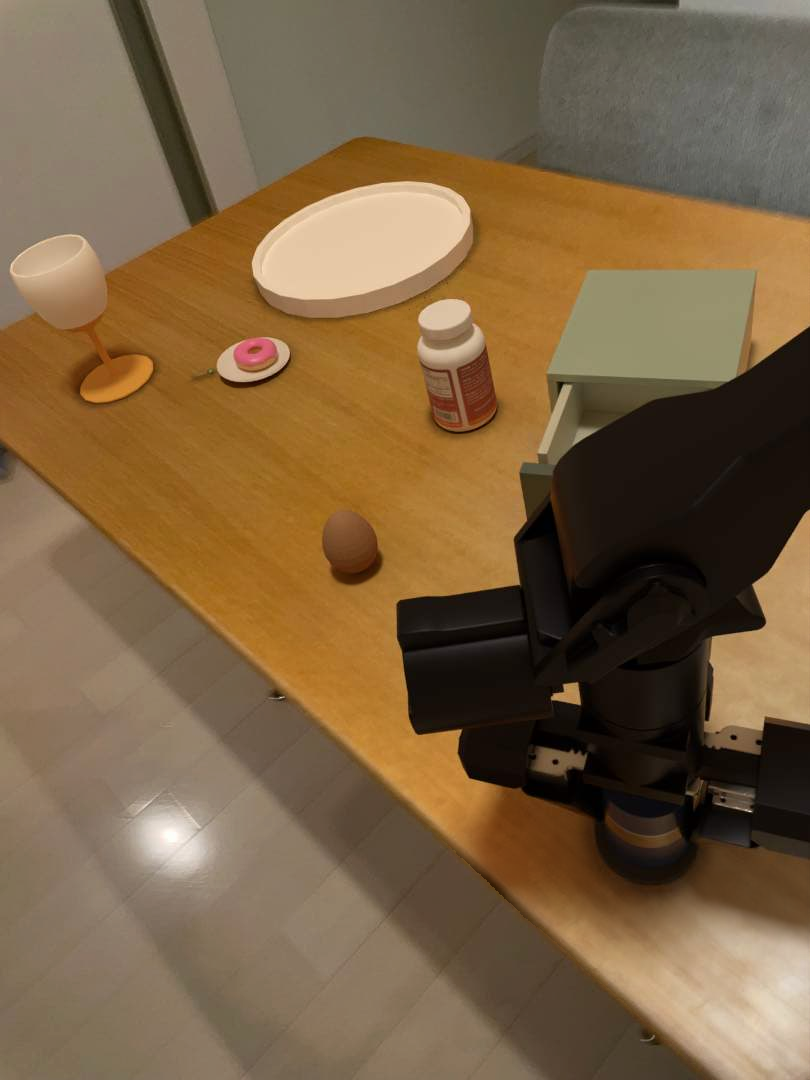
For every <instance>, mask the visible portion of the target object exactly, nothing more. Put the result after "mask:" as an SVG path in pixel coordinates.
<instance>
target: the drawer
mask: <svg viewBox="0 0 810 1080" xmlns="http://www.w3.org/2000/svg"><path fill="white" fill-rule="evenodd" d="M707 390H712V389H710V388H688V387H667V386H646V385H624V384H603V383H582V382H564V384H563V387H562V389H561V392H560V395H559V397H558V400H557V403H556V405H555V408H554V410H553V413H552V415H551V416H550V418H549V421H548V424H547V426H546V429H545V431H544V434H543V437H542V439H541V441H540V445H539V448H538V450H537V451H536V454H537V460H538V462H527V461H522V464H521V467H520V469H519V471H518V474H519V480H520V481H519V482H520V486H521V492H522V498H523V503H524V511H525V516H526V521H527V520H528V519H529V517H530V516H531V515H532V513H533V512H534V511H535V510H536V508H537V507H538V506H539V504H540V503H541V502H542V501H543V499H544V498H545V497H546V496H547V494H548V493H549V492H550V490H551V485H552V479H553V474H552V473H553V469H554V468H555V466H556V464H557V463H558V461H559V459H560V458H561V457H562V456H563V455H564V454H565V453H566V452H567V451H568V450H569V449H570V448H571V447H572V446H573V445H574V444H576V443H577V442H579V441H581V440H582V439H584V438H585V437H587V436H589V435H591V434H592V433H594V432H596V431H598V430H599V429H601V428H603V427H605V426H607V425H608V424H610V423H612V422H614V421H616V420H617V419H619V418H621V417H623V416H624V415H626V414H628V413H630V412H632V411H633V410H635V409H637V408H639V407H641V406H642V405H644V404H646V403H648V402H650V401H652V400H655V399H658V398H663V397H669V396H675V395H682V394H688V393H694V392H700V391H707Z"/></svg>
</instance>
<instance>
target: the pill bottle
mask: <svg viewBox="0 0 810 1080" xmlns="http://www.w3.org/2000/svg"><path fill="white" fill-rule="evenodd" d="M417 321H418V326H419V330H420V335H421V336H420V337H419V339H418V342H417V345H416V353H417V358H418V360H419V361H418V362H419V365H420V369H421V373H422V376H423V380H424V385H425V388H426V392H427V396H428V400H429V404H430V408H431V413H432V415H433V418H434V420H435V422H436V423H437V425H439V426H440V427H441V428H443V429H445V430H447V431H450V432H457V433H458V432H466V431H471V430H474V429H476V428H479V427H481V426H483V425H484V424H486V423H488V422H489V421H490V420H491V419H492V418H493V416H494V415H495V413H496V411H497V408H498V407H497V406H498V402H497V395H496V389H495V385H494V379H493V373H492V369H491V363H490V358H489V357H490V356H489V351H488V347H487V343H486V338H485V334H484V333H483V331H482V329H481V328H480V327H479V326H478V324H477V325H476V323H474V316H473V313H472V308H471V306H470V304H468V303H467V302H466V301H464V300H461V299H456V298H448V299H442V300H437V301H435V302H433V303H431V304H429V305H427V306H426V307H425V308H423V310H421V311H420V313H419V315H418V318H417Z"/></svg>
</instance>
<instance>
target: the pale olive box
mask: <svg viewBox="0 0 810 1080" xmlns="http://www.w3.org/2000/svg"><path fill="white" fill-rule="evenodd" d="M757 275H758V269H756V268H751V269H750V268H749V269H748V268H747V269H742V268H741V269H740V268H737V269H736V268H735V269H732V268H729V269H727V268H726V269H724V268H723V269H720V268H719V269H718V268H717V269H716V268H715V269H712V268H711V269H588V270H587V272H586V274H585V277H584V280H583V282H582V284H581V287H580V290H579V292H578V295H577V296H576V298H575V302H574V304H573V307H572V309H571V312H570V315H569V317H568V318H567V321H566V323H565V327H564V329H563V331H562V333H561V337H560V339H559V340H558V344H557V345H556V348H555V351H554V353H553V355H552V359H551V361H550V363H549V366H548V368H547V371H546V373H545V374H546V382H547V389H548V398H549V407H550V413H551V416H552V413H553V410H554V408H555V405H556V403H557V400H558V397H559V395H560V392H561V389H562V387H563V384H564V382H582V383H603V384H624V385H646V386H667V387H688V388H710V389H715V388H717V387H719V386H721V385H723V384H725V383H726V382H728V381H730V380H732V379H734V378H735V377H737V376H739V375H741V374H743V373H745V372H746V371H747V369H748V364H749V358H750V352H751V347H752V346H751V345H752V336H753V335H752V333H753V325H754V324H753V322H754V311H755V310H754V309H755V297H756V287H757V286H756V284H757Z"/></svg>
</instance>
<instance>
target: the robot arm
mask: <svg viewBox="0 0 810 1080" xmlns="http://www.w3.org/2000/svg"><path fill="white" fill-rule="evenodd" d="M552 474H553V479H552V485H551V490H550V492H549V493H548V494H547V496H546V497H545V498H544V499H543V501H542V502H541V503H540V504H539V506H538V507H537V508H536V510H535V511H534V512H533V513H532V515H531V516H530V517H529V519H528V520H527V519H526V521H525V522H524V524H523V525H522V526H521V528H519V530H518V531H517V533H516V534H515V535H514V537H513V545H514V552H515V560H516V567H517V575H518V580H519V584H514V585H507V586H501V587H494V588H489V589H488V588H487V589H482V590H481V589H480V590H474V591H469V592H463V593H457V594H449V595H424V596H416V597H410V598H404V599H399V600H398V601H397V602H396V604H395V605H396V608H395V609H396V611H395V612H396V615H395V616H396V640H397V643H398V645H399V648H400V650H401V658H402V665H403V674H404V680H405V685H406V691H407V714H408V719H409V722H410V725H411V727H412V729H413V731H414V734H416V735H417V736H423V735H430V734H438V733H445V732H447V733H448V732H455V731H460V734H459V737H458V744H457V745H458V747H457V755H458V759H459V761H460V763H461V767H462V769H463V770H464V772H465V774H466V776H467V778H468V780H469V779H470V780H474V781H478V782H482V783H486V784H491V785H494V786H498V787H503V788H508V789H511V790H516V789H521V791H522V793H523V794H524V795H525V796H527V797H530V798H535V799H538V800H540V801H543V802H546V803H549V804H551V805H553V806H556V807H558V808H562V809H565V810H567V811H570V812H572V813H574V814H577V815H580V816H583V817H585V818H587V819H589V820H592V821H594V822H595V821H597V822H602V821H603V812H602V805H601V797H600V787H605V788H609V789H613V790H618V791H622V792H626V793H631V794H635V795H640V796H644V797H648V798H653V799H657V800H661V801H666V802H670V803H674V804H679V805H683V806H684V803H685V797H686V794H687V795H692V796H694V797H696V796H697V799H696V801H695V804H694V807H693V817H692V822H691V827H690V834H689V840H688V842H689V844H691V845H695V846H699V847H700V846H701V847H702V846H705V847H706V846H716V847H730V848H739V849H741V848H742V849H744V850H750V851H755V850H759V848H763V849H764V850H766V851H768V852H773V853H778V854H782V855H786V856H790V857H793V858H794V857H795V858H799V859H804V860H806V861H810V723H804V722H799V721H793V720H789V719H782V718H778V717H772V716H767V715H764V717H763V718H764V719H763V724H762V730H760V729H755V728H749V727H744V726H739V725H731V724H730V725H727V726H724V727H723V728H722V729H721V730H720V731H715V732H710V731H705V722H709V721H710V717H711V711H712V707H713V696H714V695H713V693H714V680H715V677H714V671H715V670H714V667H713V665H712V663H711V662H710V660H711V655H712V653H711V652H712V645H713V644H712V643H713V638H714V637H719V636H720V637H721V636H726V635H733V634H740V633H747V632H754V631H755V632H756V631H759V630H762V629H763V628H765V626H766V625H767V618H766V615H765V613H764V611H763V608H762V605H761V603H760V600H759V598H758V595H757V593H756V590H755V587H754V584H755V583H756V582H758V581H759V580H761V579H762V578H763V577H764V576H766V575H767V574H768V573H769V572H770V571H771V569H773V566H774V565H775V563H776V562H777V560H778V558H779V557H780V555H781V553H782V552H783V550H784V549H785V547H786V545H787V543H788V542H789V540H790V539H791V537H792V535H793V534H794V532H795V531H796V529H797V528H798V526H799V524H800V522H801V520H803V517H804V516H805V514H806V513H807V512H809V511H810V325H809V326H807V327H806V328H805V329H803V330H802V331H801V332H800V333H798V334H797V335H795V336H794V337H792V338H791V339H790V340H788V341H787V342H785V343H783V344H782V345H781V346H780V347H778V348H777V349H776V350H775V351H772V352H771V353H770V354H769V355H767V356H766V357H765V358H763V359H762V360H760V361H759V362H758V363H756V364H755V365H753V366H752V367H751V368H749V369H748V370H746V372H745V373H743V374H741V375H739V376H737V377H735V378H734V379H732V380H730V381H728V382H726V383H725V384H723V385H721V386H719V387H717V388H715V389H712V390H707V391H700V392H694V393H688V394H682V395H675V396H669V397H663V398H658V399H655V400H652V401H650V402H648V403H646V404H644V405H642V406H641V407H639V408H637V409H635V410H633V411H632V412H630V413H628V414H626V415H624V416H623V417H621V418H619V419H617V420H616V421H614V422H612V423H610V424H608V425H607V426H605V427H603V428H601V429H599V430H598V431H596V432H594V433H592V434H591V435H589V436H587V437H585V438H584V439H582V440H581V441H579V442H577V443H576V444H574V445H573V446H572V447H571V448H570V449H569V450H568V451H567V452H566V453H565V454H564V455H563V456H562V457H561V458H560V459H559V461H558V463H557V464H556V466H555V468H554V469H553V473H552ZM568 684H577V687H578V693H579V701H580V704H578V703H577V704H576V703H572V702H567V701H562V700H557V699H556V700H555V699H552V697H554V695H555V694H561V693H565V687H564V685H568ZM693 778H694V779H693Z"/></svg>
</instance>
